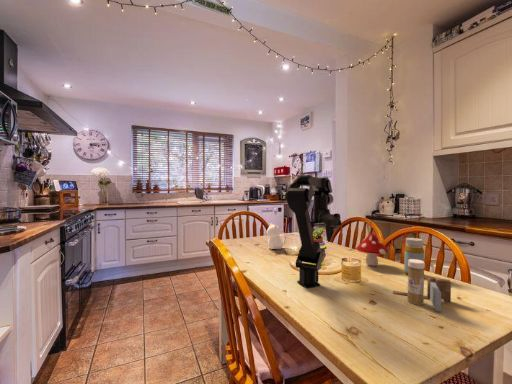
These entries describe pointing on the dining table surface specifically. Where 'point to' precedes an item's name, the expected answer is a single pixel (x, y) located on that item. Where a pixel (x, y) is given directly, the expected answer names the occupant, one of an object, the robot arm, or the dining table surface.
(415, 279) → the sprinkles bottle
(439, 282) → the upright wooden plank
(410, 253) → the bottle
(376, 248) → the decorative mushroom
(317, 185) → the robot arm
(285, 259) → the dining table surface
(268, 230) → the cat figurine
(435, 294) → the door
